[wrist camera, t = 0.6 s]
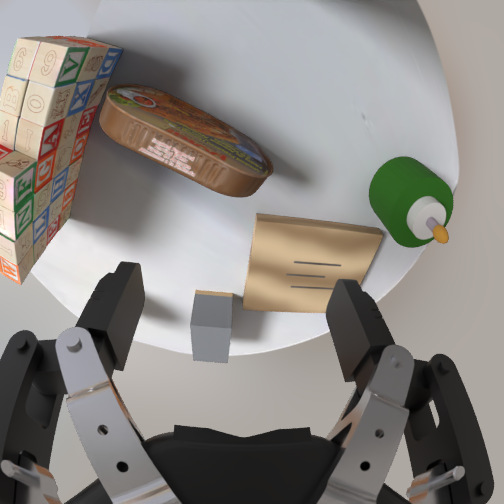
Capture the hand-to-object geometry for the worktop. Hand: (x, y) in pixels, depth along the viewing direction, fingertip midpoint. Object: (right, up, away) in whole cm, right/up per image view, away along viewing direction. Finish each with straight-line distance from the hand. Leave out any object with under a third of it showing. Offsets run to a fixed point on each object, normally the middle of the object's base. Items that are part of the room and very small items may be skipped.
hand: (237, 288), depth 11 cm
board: (+8, -1, +23) cm, 24 cm away
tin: (-5, +13, +12) cm, 19 cm away
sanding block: (-5, -7, +28) cm, 30 cm away
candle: (+17, +9, +17) cm, 26 cm away
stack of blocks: (-19, +14, +11) cm, 26 cm away
